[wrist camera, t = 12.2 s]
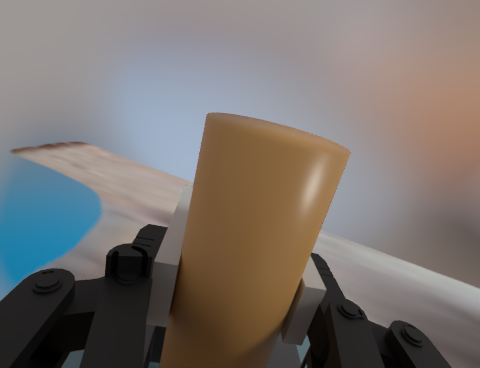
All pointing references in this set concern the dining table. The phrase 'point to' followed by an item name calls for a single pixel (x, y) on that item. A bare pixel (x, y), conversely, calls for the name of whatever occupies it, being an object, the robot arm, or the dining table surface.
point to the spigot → (247, 239)
